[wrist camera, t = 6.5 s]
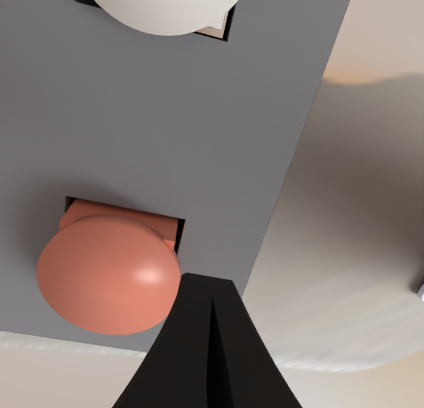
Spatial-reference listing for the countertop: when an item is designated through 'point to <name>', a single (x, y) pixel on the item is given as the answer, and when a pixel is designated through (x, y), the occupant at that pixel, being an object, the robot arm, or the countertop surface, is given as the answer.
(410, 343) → the countertop surface
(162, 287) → the red plug
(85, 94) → the plug panel
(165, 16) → the plug
